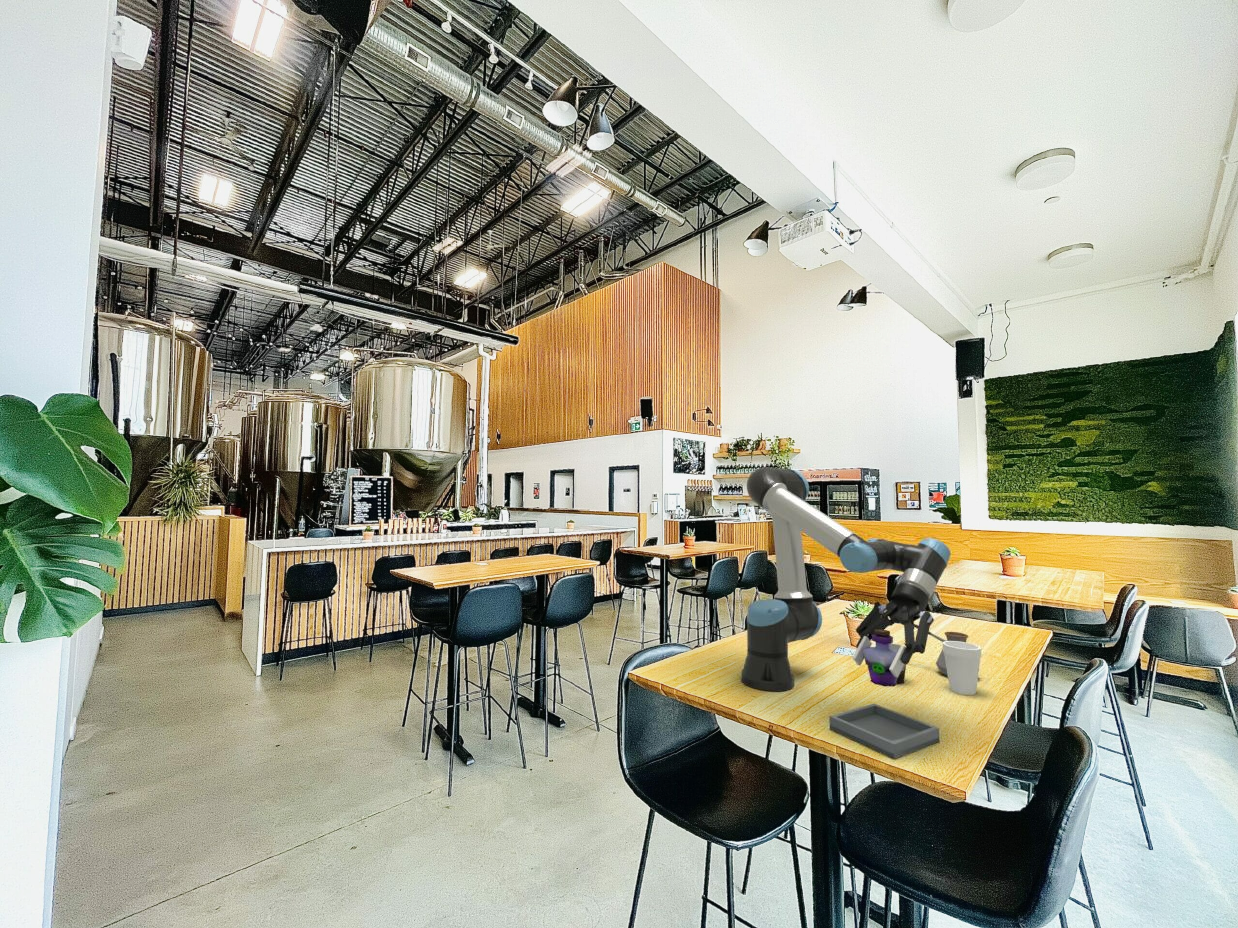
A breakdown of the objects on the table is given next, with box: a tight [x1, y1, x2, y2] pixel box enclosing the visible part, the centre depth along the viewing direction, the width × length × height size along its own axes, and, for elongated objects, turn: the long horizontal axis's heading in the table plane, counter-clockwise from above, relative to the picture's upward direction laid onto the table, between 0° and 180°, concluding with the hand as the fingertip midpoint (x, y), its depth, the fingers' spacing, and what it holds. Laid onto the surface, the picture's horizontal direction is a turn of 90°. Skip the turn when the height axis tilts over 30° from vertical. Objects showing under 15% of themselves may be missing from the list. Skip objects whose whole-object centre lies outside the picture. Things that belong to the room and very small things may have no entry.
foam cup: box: [942, 640, 982, 696], centre depth 150 cm, size 10×9×13 cm
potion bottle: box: [862, 629, 898, 687], centre depth 121 cm, size 9×9×12 cm
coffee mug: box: [890, 643, 907, 685], centre depth 159 cm, size 12×9×10 cm
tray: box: [829, 703, 941, 760], centre depth 120 cm, size 16×17×3 cm
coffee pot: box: [914, 623, 970, 677], centre depth 168 cm, size 21×12×15 cm, turn 45°
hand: (874, 667), depth 120 cm, fingers closed on potion bottle, 9 cm apart
